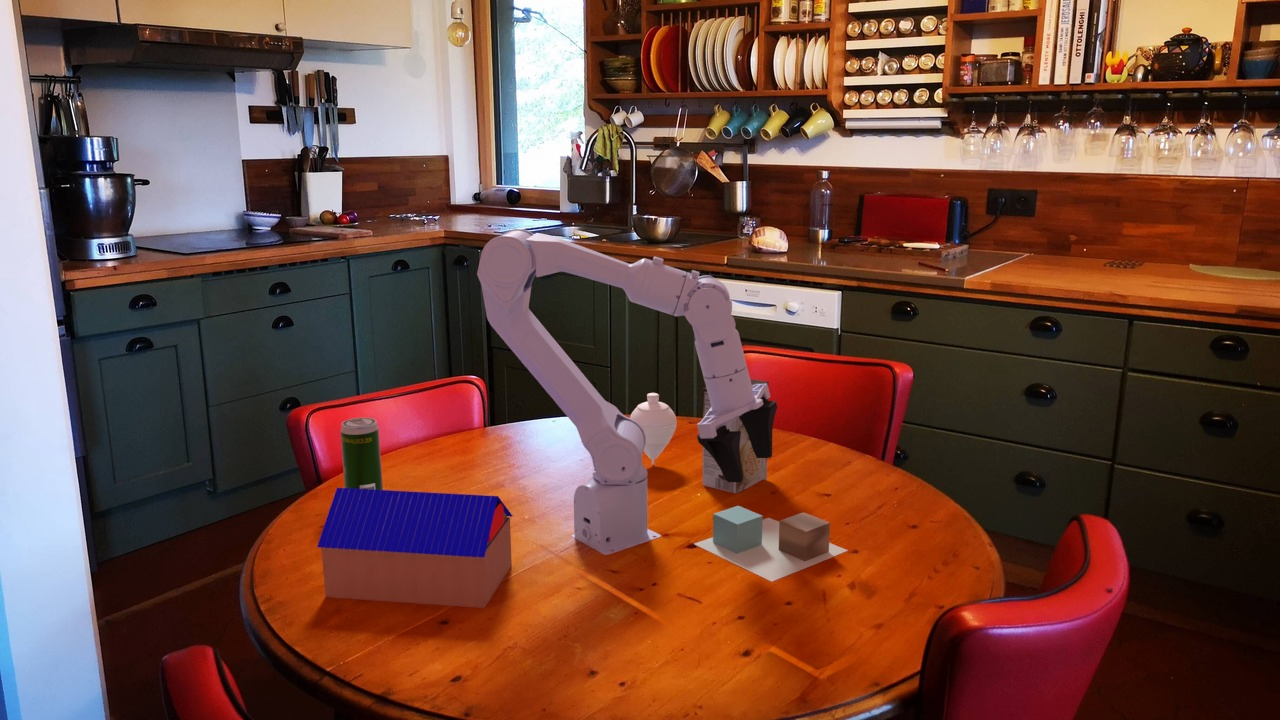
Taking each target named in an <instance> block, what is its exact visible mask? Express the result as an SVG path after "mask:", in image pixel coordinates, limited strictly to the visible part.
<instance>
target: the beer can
mask: <svg viewBox="0 0 1280 720" xmlns="http://www.w3.org/2000/svg"><path fill="white" fill-rule="evenodd" d="M379 429H380V428H379V426H378V424H377V419H376V418H372V417H354V418H350V419H346V420H344V421H342V422H341V428H340V431H339V432H340V444H341V456H342V457H341V458H342V467H343V469H342V470H343V481H344V482H343V483H344V488H352V489H371V490H384V487H383V473H382V459H381V445H380V444H381V443H380V431H379Z"/></svg>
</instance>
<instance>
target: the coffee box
mask: <svg viewBox="0 0 1280 720" xmlns="http://www.w3.org/2000/svg"><path fill="white" fill-rule="evenodd" d="M750 380H751V384H752V386H753V385H755V384H767V385H768V386H769V383H770V382H769V381H767V380H760V379H755V378H754V379H753V378H750ZM766 401H769V398H768V399H766ZM710 408H711V403H710V400H709V396H708V392H707V388H706V386H705V387H702V419H703V418H704V417H705V415H706V414H707V412H708V411H709V409H710ZM726 428H727V429H729V430H730V431H741V436H740V459H741V464H742V470H743V480H742V481H741V482H727V480H726V478H725V476H724V474H723V473H722V471H721V469H720V467H719V466H718V464H717V463H716V461H715V460H714V458H713V457H712V456H711V454H710V453H709V452H708V451H707V450H706V449H705V448H704V447H703V446H702V485H703V486H704V487H708V488H713V489H716V490H720V491H725V492H728V493H731V494H738V493H740V492H742V491H743V492H744V490H746V489H749V488H750V487H752V486H754V485H755V484H757V483H759V482H761V481H763V480H764V481H767V480H768V458H757V457H756V455H755V453H754V451H753V448H752V445H751V442H750V439H749V436H748V433H747V431H746V429H745V427H744V425H743V423H742V422H741V420H740V418H739V417H738V418H736V419H735V420H734V421H732V422H731V423H729V424H728V425H727V426H726Z"/></svg>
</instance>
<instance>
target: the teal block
mask: <svg viewBox="0 0 1280 720" xmlns="http://www.w3.org/2000/svg"><path fill="white" fill-rule="evenodd" d="M763 517H764V516H763V515H762V514H759V513H757V512H754V511H752V510H750V509H748V508H744V507H743V506H740V505H736V506H733V507H729V508H726V509H724V510H721V511H718V512H714V513H713V514H712V519H713V520H712V537H713V543H715V544H717V545H719V546H722V547H724V548H726V549H728V550H730V551H732V552H734V553H736V554H738V553H740V552H743V551H746V550H748V549H751V548H754V547H757V546H759V545H762V520H763V519H764V518H763Z"/></svg>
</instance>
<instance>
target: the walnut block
mask: <svg viewBox="0 0 1280 720" xmlns="http://www.w3.org/2000/svg"><path fill="white" fill-rule="evenodd" d="M778 522H779V550H780V551H782V552H785V553H787V554H789V555H791V556H794V557H796V558H798V559H800V560H803V561H808V560H810V559H813V558H815V557H817V556H820V555H822V554H825V553H827V552H829V543H830V534H831V532H830V531H831V523H830V522H829V521H826V520H824V519H821V518H820V517H816V516H814V515H812V514H809V513H807V512H804V511H803V512H801V513H796V514H794V515H792V516H789V517H786V518H783V519H781V520H778Z"/></svg>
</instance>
